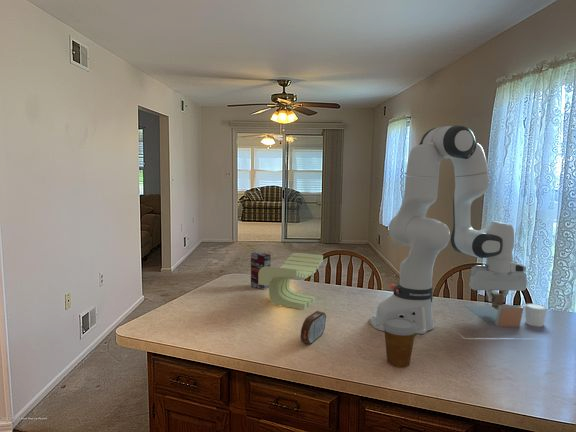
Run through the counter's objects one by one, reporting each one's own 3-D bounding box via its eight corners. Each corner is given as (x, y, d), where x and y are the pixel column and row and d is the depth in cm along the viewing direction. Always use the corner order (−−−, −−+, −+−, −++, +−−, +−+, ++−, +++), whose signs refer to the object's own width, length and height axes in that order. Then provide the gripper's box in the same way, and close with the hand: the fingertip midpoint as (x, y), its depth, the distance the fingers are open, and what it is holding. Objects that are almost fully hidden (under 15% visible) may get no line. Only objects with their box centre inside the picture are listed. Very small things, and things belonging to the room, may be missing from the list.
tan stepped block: (481, 299, 168) (482, 289, 167) (496, 299, 168) (497, 289, 168) (499, 311, 154) (500, 300, 154) (516, 311, 154) (517, 300, 154)
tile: (497, 327, 154) (501, 307, 151) (495, 325, 156) (498, 305, 153) (519, 327, 154) (523, 307, 152) (517, 325, 156) (521, 305, 153)
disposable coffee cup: (377, 356, 129) (378, 317, 128) (408, 355, 130) (410, 316, 129) (387, 370, 120) (388, 328, 119) (420, 369, 121) (422, 328, 119)
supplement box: (250, 286, 203) (250, 253, 201) (257, 284, 206) (257, 251, 204) (263, 290, 197) (263, 255, 195) (270, 287, 201) (271, 254, 199)
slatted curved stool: (288, 290, 197) (289, 251, 195) (322, 295, 191) (322, 255, 189) (258, 310, 170) (258, 265, 168) (295, 316, 163) (296, 269, 161)
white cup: (548, 329, 153) (550, 309, 152) (527, 327, 154) (528, 308, 154) (541, 322, 160) (542, 303, 159) (521, 320, 161) (522, 302, 160)
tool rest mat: (487, 324, 157) (487, 323, 157) (464, 306, 177) (464, 305, 177) (520, 324, 157) (520, 323, 157) (493, 307, 177) (493, 305, 177)
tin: (318, 330, 149) (319, 307, 148) (327, 332, 147) (327, 308, 146) (299, 346, 136) (299, 320, 135) (308, 348, 134) (309, 322, 133)
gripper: (475, 266, 157) (472, 303, 159) (530, 267, 158) (527, 304, 160) (467, 263, 164) (465, 298, 165) (521, 263, 164) (518, 299, 166)
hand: (496, 301), depth 162 cm, fingers closed on tan stepped block, 2 cm apart
